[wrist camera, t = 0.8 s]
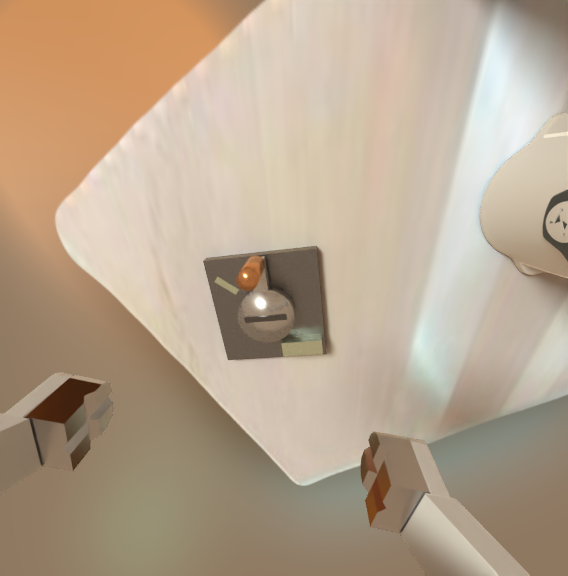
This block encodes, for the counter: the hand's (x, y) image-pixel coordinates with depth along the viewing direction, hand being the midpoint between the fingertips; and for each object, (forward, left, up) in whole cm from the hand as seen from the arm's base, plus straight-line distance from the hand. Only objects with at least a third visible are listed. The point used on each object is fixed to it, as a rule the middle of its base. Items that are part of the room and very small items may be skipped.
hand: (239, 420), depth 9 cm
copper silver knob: (+5, +9, -31) cm, 32 cm away
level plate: (+5, +12, -32) cm, 35 cm away
